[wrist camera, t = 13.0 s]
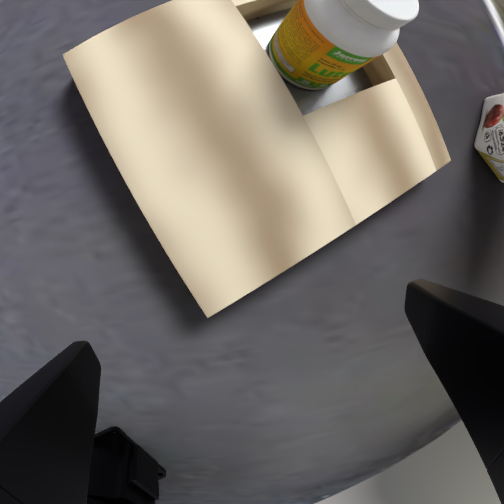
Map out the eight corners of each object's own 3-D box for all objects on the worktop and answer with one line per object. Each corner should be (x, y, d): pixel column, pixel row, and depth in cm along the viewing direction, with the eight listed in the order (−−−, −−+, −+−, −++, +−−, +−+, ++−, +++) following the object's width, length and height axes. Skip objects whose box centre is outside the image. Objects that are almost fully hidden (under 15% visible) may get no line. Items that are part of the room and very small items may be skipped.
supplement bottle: (285, 99, 19) (368, 35, 10) (255, 31, 18) (311, -59, 8) (351, 84, 20) (446, 35, 10) (322, 21, 18) (397, -48, 9)
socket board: (202, 301, 20) (207, 318, 17) (75, 73, 16) (62, 54, 13) (424, 162, 23) (450, 160, 20) (325, -18, 18) (342, -36, 15)
